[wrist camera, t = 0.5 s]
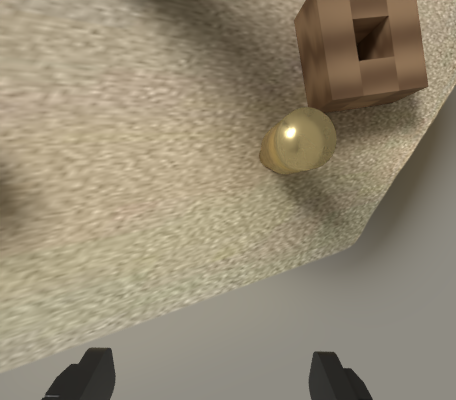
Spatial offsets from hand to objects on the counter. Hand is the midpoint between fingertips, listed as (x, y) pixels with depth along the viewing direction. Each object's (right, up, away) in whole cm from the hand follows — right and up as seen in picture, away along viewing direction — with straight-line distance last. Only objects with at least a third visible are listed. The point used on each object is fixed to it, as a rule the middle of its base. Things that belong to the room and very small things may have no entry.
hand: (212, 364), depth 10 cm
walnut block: (+18, +27, +27) cm, 43 cm away
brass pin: (+7, +13, +26) cm, 30 cm away
